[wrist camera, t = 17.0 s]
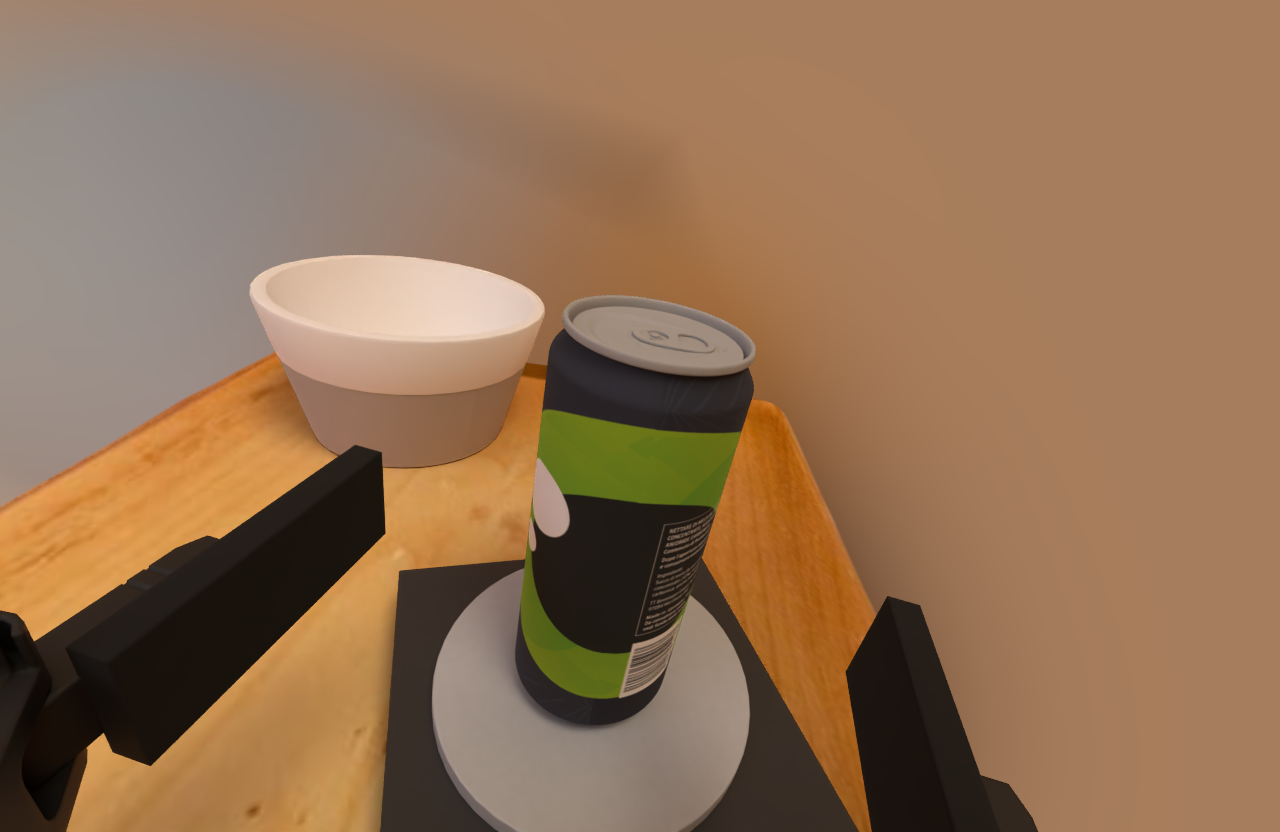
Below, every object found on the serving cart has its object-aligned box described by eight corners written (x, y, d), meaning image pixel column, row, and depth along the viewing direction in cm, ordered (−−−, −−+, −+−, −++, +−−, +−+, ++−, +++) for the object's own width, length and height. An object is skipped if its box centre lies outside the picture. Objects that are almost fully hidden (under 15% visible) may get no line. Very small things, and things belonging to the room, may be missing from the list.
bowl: (480, 517, 35) (489, 366, 30) (199, 451, 35) (163, 293, 30) (558, 396, 52) (572, 288, 47) (367, 353, 52) (362, 242, 48)
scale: (682, 580, 33) (697, 533, 31) (879, 965, 19) (925, 917, 17) (400, 613, 27) (398, 557, 26) (362, 1211, 13) (352, 1176, 11)
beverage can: (657, 612, 26) (741, 312, 19) (667, 744, 20) (792, 387, 13) (525, 599, 25) (563, 281, 18) (499, 731, 19) (540, 347, 13)
